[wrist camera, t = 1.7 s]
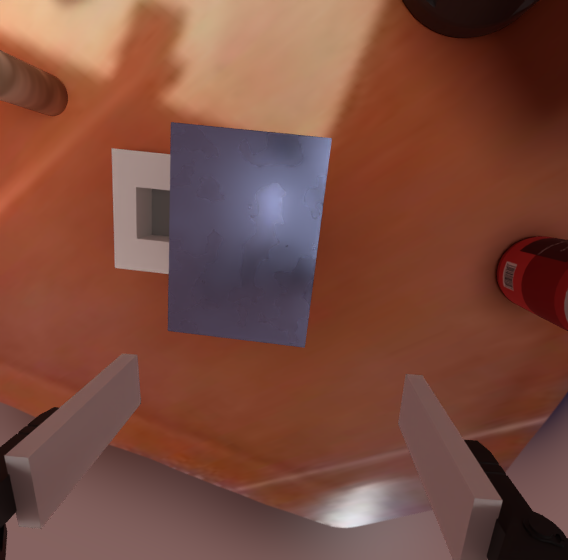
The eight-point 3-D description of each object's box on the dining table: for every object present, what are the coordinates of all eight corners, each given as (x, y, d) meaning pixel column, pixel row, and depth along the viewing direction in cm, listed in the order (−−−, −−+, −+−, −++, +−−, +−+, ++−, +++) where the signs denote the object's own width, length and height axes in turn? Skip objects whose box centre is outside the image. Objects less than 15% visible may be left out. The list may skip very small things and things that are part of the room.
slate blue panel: (227, 153, 35) (170, 122, 20) (320, 163, 35) (331, 138, 20) (220, 278, 39) (167, 330, 24) (304, 288, 39) (304, 347, 24)
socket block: (132, 153, 36) (111, 148, 32) (259, 166, 36) (253, 163, 32) (133, 260, 39) (114, 267, 35) (250, 274, 39) (244, 282, 35)
